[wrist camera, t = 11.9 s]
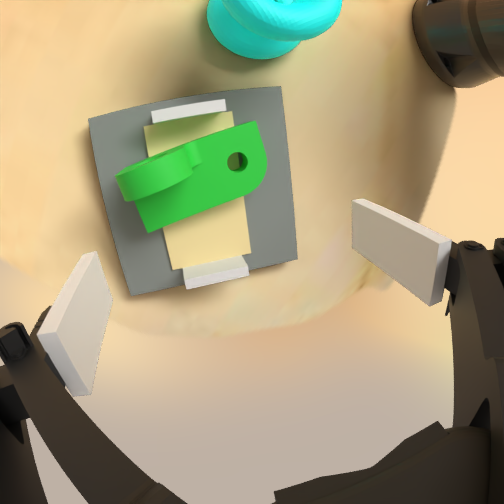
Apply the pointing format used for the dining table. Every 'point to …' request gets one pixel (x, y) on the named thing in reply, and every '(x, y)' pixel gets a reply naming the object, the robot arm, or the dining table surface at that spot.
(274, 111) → the grey square plate
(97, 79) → the dining table surface
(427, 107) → the dining table surface
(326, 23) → the donuts
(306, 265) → the dining table surface
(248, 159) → the mechanical part
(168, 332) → the dining table surface
